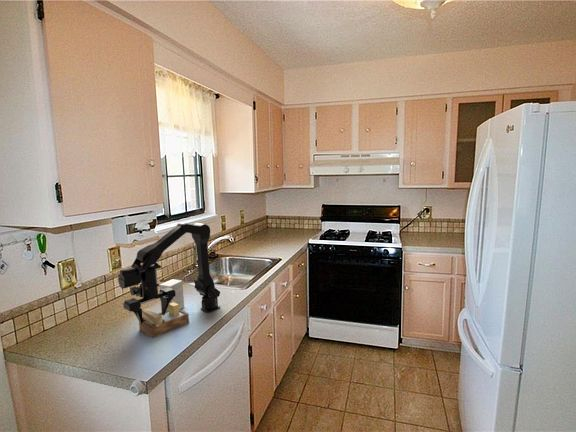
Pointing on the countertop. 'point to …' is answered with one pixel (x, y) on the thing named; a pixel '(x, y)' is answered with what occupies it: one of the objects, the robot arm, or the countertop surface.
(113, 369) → the countertop surface
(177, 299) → the small box
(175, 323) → the brown frame
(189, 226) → the robot arm
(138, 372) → the countertop surface
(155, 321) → the tan block
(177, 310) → the lid
